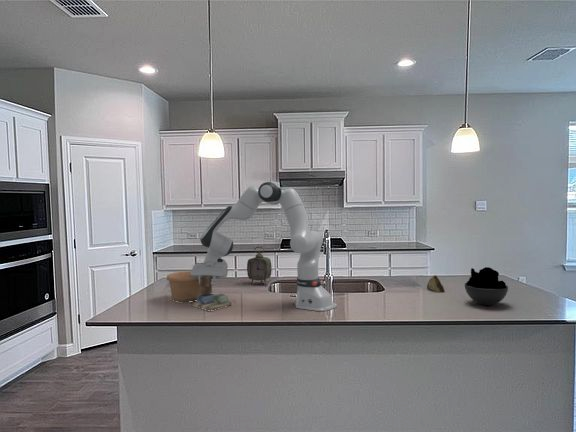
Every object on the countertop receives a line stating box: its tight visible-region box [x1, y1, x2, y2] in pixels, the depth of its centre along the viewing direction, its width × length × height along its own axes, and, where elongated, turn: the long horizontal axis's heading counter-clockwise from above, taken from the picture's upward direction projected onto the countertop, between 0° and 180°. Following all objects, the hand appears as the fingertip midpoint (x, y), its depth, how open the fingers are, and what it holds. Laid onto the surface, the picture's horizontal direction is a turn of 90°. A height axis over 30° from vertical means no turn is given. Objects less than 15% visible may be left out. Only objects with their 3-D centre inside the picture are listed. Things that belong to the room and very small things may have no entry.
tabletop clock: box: [246, 246, 273, 286], centre depth 266 cm, size 14×9×25 cm, turn 67°
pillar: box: [200, 276, 213, 294], centre depth 214 cm, size 4×4×9 cm
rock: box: [426, 274, 446, 293], centre depth 238 cm, size 11×9×10 cm
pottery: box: [166, 270, 201, 302], centre depth 230 cm, size 22×22×14 cm
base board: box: [191, 292, 233, 312], centre depth 215 cm, size 16×14×6 cm
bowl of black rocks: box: [464, 266, 509, 306], centre depth 206 cm, size 20×20×19 cm
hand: (205, 284), depth 214 cm, fingers closed on pillar, 4 cm apart
